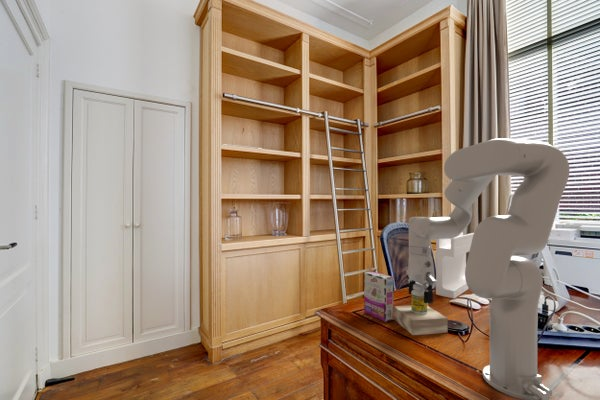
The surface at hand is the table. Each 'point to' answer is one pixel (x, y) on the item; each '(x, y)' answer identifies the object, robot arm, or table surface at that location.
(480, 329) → the table surface
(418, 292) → the supplement bottle
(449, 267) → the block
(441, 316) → the base block
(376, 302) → the candy bar box
